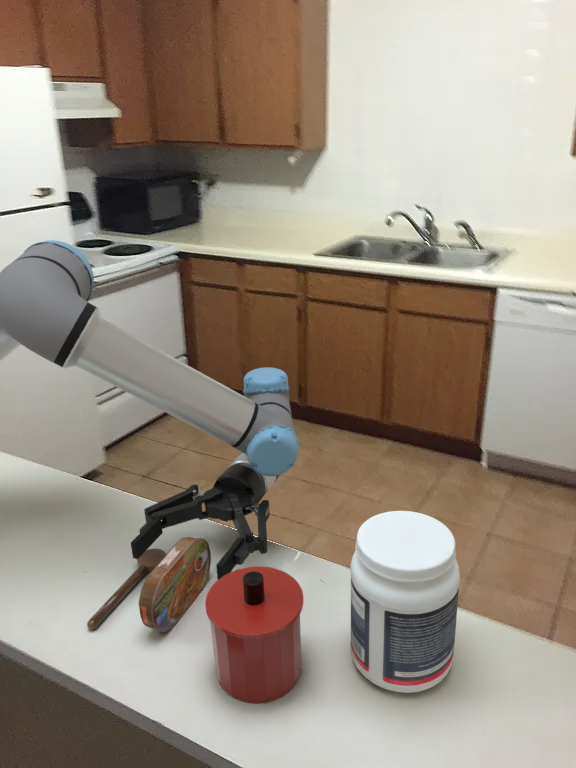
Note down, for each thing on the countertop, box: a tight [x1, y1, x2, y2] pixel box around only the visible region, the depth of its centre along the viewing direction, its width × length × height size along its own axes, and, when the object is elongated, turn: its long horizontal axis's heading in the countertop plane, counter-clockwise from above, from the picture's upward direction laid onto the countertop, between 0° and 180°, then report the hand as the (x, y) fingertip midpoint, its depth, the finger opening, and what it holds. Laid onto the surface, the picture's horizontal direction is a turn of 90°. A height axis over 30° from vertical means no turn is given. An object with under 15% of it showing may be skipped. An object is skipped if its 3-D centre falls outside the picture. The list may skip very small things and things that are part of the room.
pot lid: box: [205, 565, 304, 639], centre depth 79 cm, size 12×12×4 cm
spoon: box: [86, 548, 167, 631], centre depth 97 cm, size 17×4×1 cm, turn 157°
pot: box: [210, 614, 302, 704], centre depth 82 cm, size 11×11×10 cm
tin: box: [138, 536, 212, 633], centre depth 93 cm, size 15×3×8 cm, turn 157°
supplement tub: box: [349, 510, 461, 694], centre depth 81 cm, size 13×13×18 cm
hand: (175, 562), depth 91 cm, fingers open, 13 cm apart
